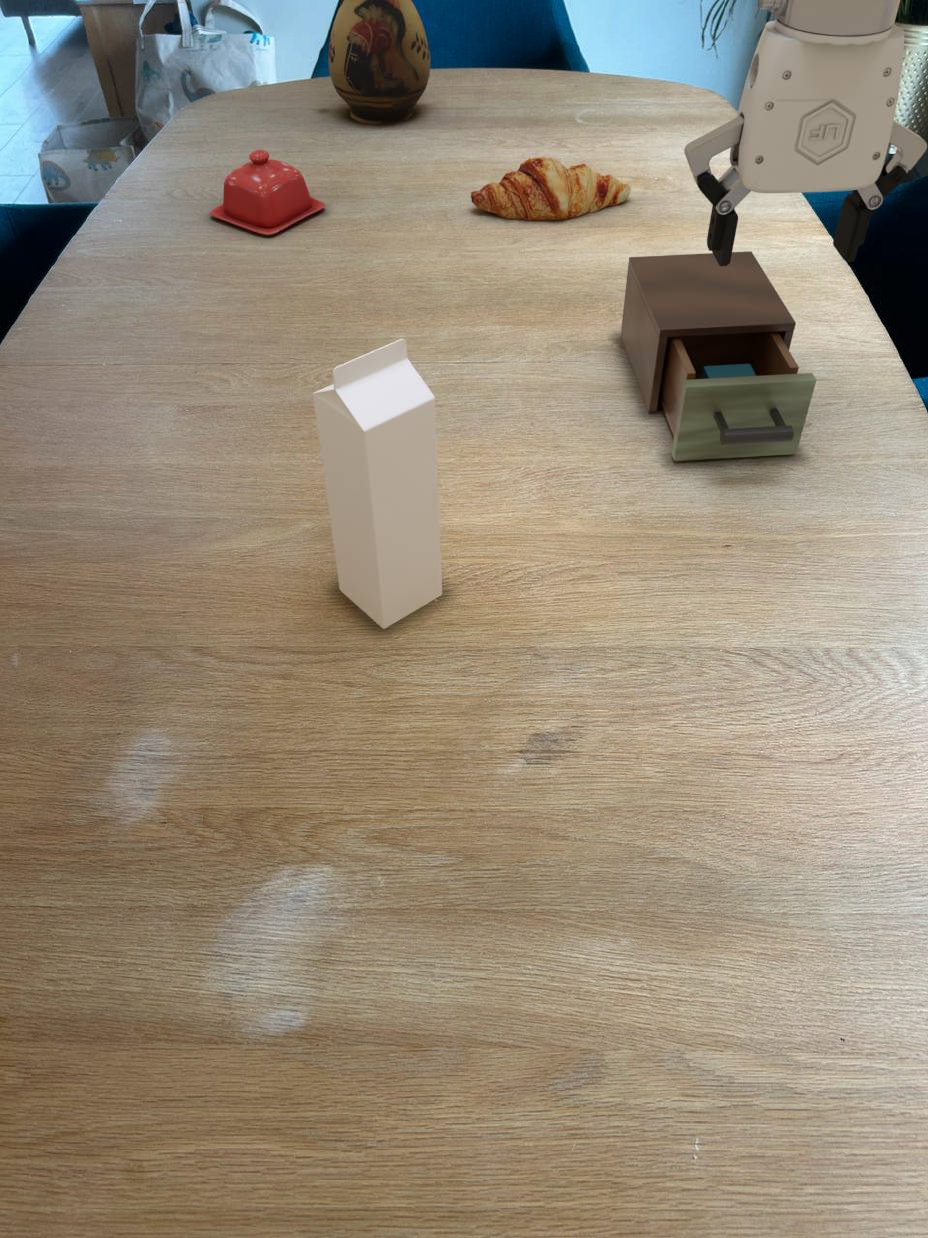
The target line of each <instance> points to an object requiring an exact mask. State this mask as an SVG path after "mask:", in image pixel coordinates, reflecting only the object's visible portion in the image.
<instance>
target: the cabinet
mask: <svg viewBox="0 0 928 1238" xmlns="http://www.w3.org/2000/svg"><path fill="white" fill-rule="evenodd" d="M627 264H628V265H627V273H626V274H627V275H626V283H625V291H624V292H625V293H624V300H623V310H622V318H621V319H622V320H621V328H620V341H621V343H622V344H621V345H622V347H623V349H624V352H625V355H626V357H627V359H628V362H629V365H630V368H631V371H632V374H633V377H634V379H635V382H636V384H637V388H638V390H639V393H640V396H641V398H642V401H643V403H644V404H643V405H644V406H645V410H646V412H647V414H648V415H662V414H663V415H664V414H665V412H664V410H663V407H662V405H661V402H660V400H659V392H660V385H661V378H662V371H663V365H664V358H665V351H666V344H667V337H680V336H699V335H718V334H737V333H756V332H775V331H778V333H779V335H780V336H781V338H782V340H783V341H784V343H785V345H786V346H787V348H788V350H789V351H790V347H791V344H792V339H793V337H794V332H795V329H796V324H797V322H796V321H795V319H794V317H793V316H792V313H790V311H789V310H788V308H787V306H786V305H785V303H784V301H783V299H782V298H781V297H780V295H779V293H778V292H777V290H776V288H775V287H774V285H773V284H772V282H771V280H770V279H769V277H768V276H767V274H766V272H765V271H764V269H763V267H762V266H761V264H760V263H759V261H758V259H757V258H756V257H755V255H754V253H753V252H752V251H749V250H748V251H732V255H731V261H730V264H728V265H727V266H719V264H718V262H717V260H716V258H715V256H714V254H713V252H710V253H708V252H707V253H689V254H686V253H685V254H670V255H669V254H667V255H665V254H664V255H648V256H645V255H644V256H629V257H628V262H627Z"/></svg>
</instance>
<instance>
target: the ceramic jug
mask: <svg viewBox="0 0 928 1238" xmlns="http://www.w3.org/2000/svg"><path fill="white" fill-rule="evenodd" d="M339 3H340V4H339V8H338V10H337V12H336V16H335V18H334V21H333V24H332V28H331V31H330V37H329V41H328V42H329V43H328V70H329V75H330V79H331V83H332V86H333V88H334V90H335V92H336V93H337V94H338V96H339V97H340V98H341V99H342V100H343V102H345V103H346V105H348V106H349V108H350V109H351V110H350V118H352V119H353V120H355V121H357V122H359V123H361V124H367V125H374V126H382V125H383V126H384V125H393V124H397V123H400V122H404V121H406V120H408V119H410V118H411V116H412V114H413V113H412V112H413V109H414V108H415V106H416V105H417V103H418V102H419V100H420V98H421V97H422V96H423V94H424V92H425V91H426V89H427V86H428V83H429V79H430V74H431V54H430V53H431V52H430V48H429V43H428V39H427V35H426V30H425V28H424V25H423V21H422V19H421V16H420V15H419V12H418V10H417V8H416V6H415V4H414V2H413V1H412V0H340V2H339Z"/></svg>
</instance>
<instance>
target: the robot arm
mask: <svg viewBox="0 0 928 1238" xmlns="http://www.w3.org/2000/svg"><path fill="white" fill-rule="evenodd" d="M900 3H901V0H757V7H758V10H768V11H769V12H771V13H773V15H774V16H775V20H770V21H767V22H766V23H765V26H764V28H763V29H762V30H763V31H762V33H761V35H760V38H759V40H758V43H757V46H756V48H755V52H754V54H753V57H752V60H751V64H750V66H749V69H748V72H747V76H746V79H745V83H744V87H743V90H742V93H741V98H740V101H739V105H738V110H737V113H736V117H735V118H733V119H731V120H729V121H728V122H725V123H724V124H722V125H720V126H719V127H717V128H715V129H713V130H711V131H708V132H707V133H706V134H703V135H702V136H700V137H698V138H696V139H694V140H692V141H691V142H688V143H687V144H686V145H685V147H684V150H683V151H684V155H685V159H686V161H687V164H688V166H689V170H690V172H691V174H692V178H693V181H694V183H695V184H696V186H697V188H698V189H699V191H700V192H701V193H702V194H703V196H704V197H705V198H706V199H707V200H708V202H709V203H710V204H711V205H712V206H711V213H710V218H709V223H708V230H707V235H706V236H707V237H706V246H707V247H706V248H707V249H708V251H709V252H711V253H713V254H714V256H715V258H716V260H717V262H718V264H719V266H727V265H728V264H730V261H731V255H732V252H733V251H734V246H735V245H734V244H735V240H736V233H737V228H738V223H739V215H738V212H737V211H736V210H735V209H736V207H737V206H738V205H739V204H740V203H741V202H742V201H743V200H744V199H746V197H747V196H748V195H749V194H750V193H751V192H753V193H757V194H797V193H798V194H800V193H801V194H802V193H804V194H805V193H830V192H846V191H847V192H848V191H849V192H850V191H852V192H851V193H846V197H844V199H843V201H842V206H841V210H840V213H839V217H838V221H837V225H836V229H835V232H834V237H833V241H832V245H833V247H834V249H835V250H836V251H837V253H838V254H839V255H840V257H841V258H842V260H843V261H845V262H847V263H849V262H855V260H856V256H857V254H858V249H859V246H863V244H865V240H866V236H867V232H868V229H869V225H870V221H871V219H872V218H871V217H872V214H873V211H874V210H876V209H878V208H880V207H881V206H882V204H883V202H884V198H886V197H887V196H888V195H890V194H891V192H893V191H894V190H895V189H897V188H898V187H899V186H900V185H902V184H903V183H904V182H905V181H906V179H907V176H908V175H907V174H908V173H909V171H911V170H912V169H913V168H914V167H915V165H916V164H917V163H918V162H919V160H920V159H921V158H922V156H923V155H924V154H925V153H926V151H927V149H928V143H927V142H926V141H925V139H923V138H922V137H921V136H920V134H917V133H916V132H914V131H913V130H911V129H909V128H908V127H906V126H904V125H903V124H901V122H899V121H896V120H895V115H896V111H897V106H898V98H899V93H900V92H899V91H900V86H901V77H902V70H903V61H904V50H905V33H906V32H905V31H904V30H903V29H902V27H899V26H897V25H896V24H895V22H896V18H897V14H898V11H899V8H900ZM890 144H891V145H892V146H893V147H895V148H896V150H895V153H894V154H893V155H892V158H891V160H889V161H887V162H885V160H886V157H887V153H888V149H889V145H890ZM728 149H730V150H729V162H730V163H729V164H730V165H731V166H730V167H729V168H728V169H727V170H726V171H725V172H724V173H723V174H722V175H721V176H720V177H719V178H718V179H717V178H716V177H715V175H714V174H713V172H712V170H711V166H710V162H711V160H712V158H714V157H715V156H717V155H719V154H721V153H723V152H725V151H727V150H728Z"/></svg>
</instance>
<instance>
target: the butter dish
mask: <svg viewBox="0 0 928 1238" xmlns="http://www.w3.org/2000/svg"><path fill="white" fill-rule="evenodd" d="M248 159H249V160H250V161H248V162H246V163H244V164H242V165H240V166H238V167H237V168H235V169H234V170H233V171H231V172H230V173H229V174H228V175H227V176H226V177H225V178H224V182H223V202H222V204H220V205H218V206H217V207H215V208H213V209H212V210H211V211H209V216H211V217H213V218H215V219H218V220H221V221H223V222H226V223H229V224H232V225H234V226H237V227H239V228H242V229H245V230H247V231H250V232H255V233H257V234H260V235H263V236H273V235H275V234H278V233H279V232H282V231H283V230H285V229H287V228H288V227H290V226H292V225H295V224H296V223H298V222H300V221H302V220H303V219H305V218H307V217H309V216H311V215H314V214H316V213H317V212H319V211H321V210H323V209H324V208H325V207H326V204H325V203H324V202H323V201H321V200H319V199H317V198H314V197H312V196H311V195H310V191H309V189H308V186H307V183H306V181H305V178H304V175H303V173H302V172H301V171H300V170H299V169H297V168H296V167H294V166H292V165H290V164H288V163H286V162H284V161H281V160H277V159H272V158H270V153H269V152H268V151H267V150H265V149H256V150H253V151H252V152H251V153H250V154H249V156H248Z"/></svg>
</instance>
